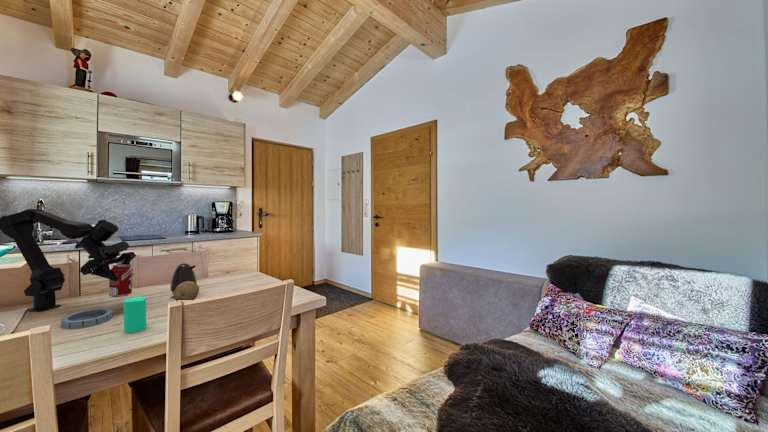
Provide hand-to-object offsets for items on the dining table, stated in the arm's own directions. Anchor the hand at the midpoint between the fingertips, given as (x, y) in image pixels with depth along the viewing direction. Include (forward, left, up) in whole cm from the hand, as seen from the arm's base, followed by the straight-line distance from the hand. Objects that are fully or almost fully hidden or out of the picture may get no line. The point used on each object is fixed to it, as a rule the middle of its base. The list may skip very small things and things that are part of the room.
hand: (125, 278), depth 116 cm
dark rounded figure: (+6, +21, -13) cm, 26 cm away
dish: (-3, -11, -13) cm, 17 cm away
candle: (+19, -12, -13) cm, 26 cm away
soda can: (-1, -1, -7) cm, 7 cm away
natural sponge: (+16, +12, -13) cm, 24 cm away
